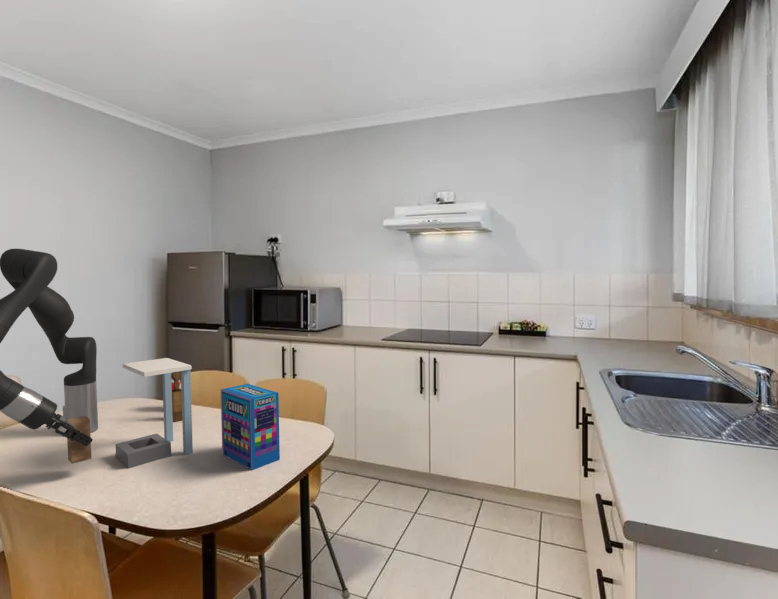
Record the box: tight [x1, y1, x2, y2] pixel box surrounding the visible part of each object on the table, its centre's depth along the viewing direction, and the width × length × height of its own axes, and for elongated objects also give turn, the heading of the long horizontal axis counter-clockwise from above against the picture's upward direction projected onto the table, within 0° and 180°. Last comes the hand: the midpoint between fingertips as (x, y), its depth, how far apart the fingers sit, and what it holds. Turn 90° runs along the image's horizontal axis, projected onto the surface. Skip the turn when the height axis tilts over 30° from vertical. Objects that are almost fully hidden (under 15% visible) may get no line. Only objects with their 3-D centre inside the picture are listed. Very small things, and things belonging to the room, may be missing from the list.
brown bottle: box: [171, 371, 182, 423], centre depth 162 cm, size 7×6×18 cm
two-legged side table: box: [122, 357, 194, 455], centre depth 131 cm, size 13×19×27 cm
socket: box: [115, 433, 172, 469], centre depth 128 cm, size 12×12×4 cm
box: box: [220, 383, 281, 471], centre depth 127 cm, size 17×9×20 cm, turn 49°
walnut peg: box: [66, 416, 92, 465], centre depth 116 cm, size 4×4×11 cm
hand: (87, 440), depth 118 cm, fingers closed on walnut peg, 4 cm apart
